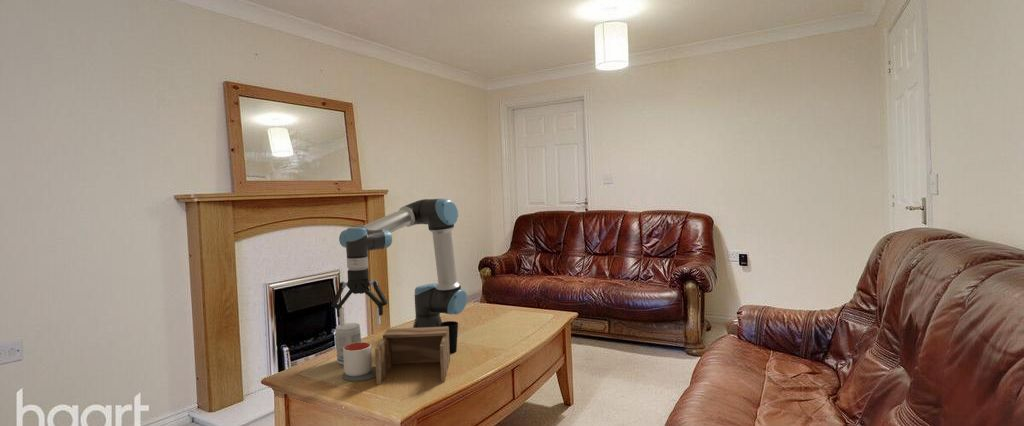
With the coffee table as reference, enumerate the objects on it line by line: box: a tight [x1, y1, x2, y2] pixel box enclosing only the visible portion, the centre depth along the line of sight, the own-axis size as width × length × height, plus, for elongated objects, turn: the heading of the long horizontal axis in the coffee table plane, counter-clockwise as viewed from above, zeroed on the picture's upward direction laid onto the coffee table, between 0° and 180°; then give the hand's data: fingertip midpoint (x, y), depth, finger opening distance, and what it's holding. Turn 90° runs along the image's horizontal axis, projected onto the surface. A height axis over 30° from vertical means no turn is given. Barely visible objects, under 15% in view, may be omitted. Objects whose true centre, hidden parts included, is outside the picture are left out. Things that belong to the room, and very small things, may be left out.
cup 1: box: [343, 341, 373, 376], centre depth 184 cm, size 10×10×10 cm
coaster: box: [342, 365, 376, 383], centre depth 184 cm, size 14×14×1 cm
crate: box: [374, 326, 451, 386], centre depth 184 cm, size 22×24×14 cm
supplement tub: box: [335, 322, 362, 366], centre depth 198 cm, size 10×10×15 cm
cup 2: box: [440, 320, 459, 354], centre depth 207 cm, size 8×8×12 cm
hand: (360, 324), depth 183 cm, fingers open, 13 cm apart
